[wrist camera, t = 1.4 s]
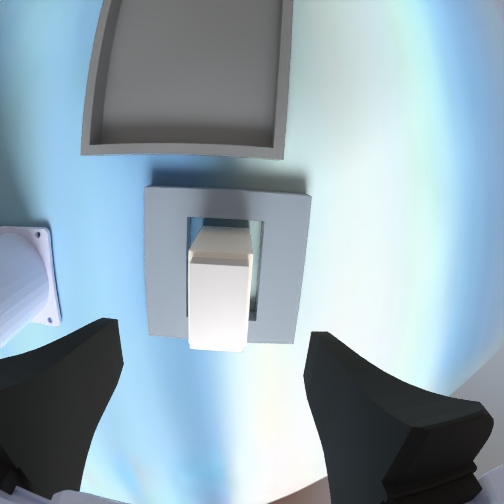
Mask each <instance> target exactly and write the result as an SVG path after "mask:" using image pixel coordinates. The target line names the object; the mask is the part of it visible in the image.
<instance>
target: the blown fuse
mask: <svg viewBox="0 0 504 504" xmlns="http://www.w3.org/2000/svg"><path fill="white" fill-rule="evenodd" d="M252 264H253V249H252V243H251V236H250V230H249V228H233V227H216V226H202V228H201V230H200V231H199V233H198V235H197V237H196V238H195V240H194V242H193V244H192V245H191V247H190V249H189V256H188V320H189V343H190V349H202V350H217V351H235V352H243V346H246V345H247V331H248V318H249V304H250V291H251V277H252Z"/></svg>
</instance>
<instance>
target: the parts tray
mask: <svg viewBox="0 0 504 504" xmlns="http://www.w3.org/2000/svg"><path fill="white" fill-rule="evenodd" d="M292 14H293V0H104V1H103V4H102V8H101V12H100V16H99V21H98V25H97V29H96V34H95V39H94V44H93V49H92V55H91V60H90V66H89V73H88V80H87V87H86V95H85V103H84V113H83V124H82V137H81V156H104V155H200V156H224V157H242V158H256V159H269V160H284V147H285V133H286V118H287V104H288V88H289V71H290V54H291V35H292Z"/></svg>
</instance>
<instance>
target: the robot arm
mask: <svg viewBox="0 0 504 504" xmlns="http://www.w3.org/2000/svg"><path fill="white" fill-rule="evenodd" d="M38 232H40V236H39V235H38ZM50 318H51V319H52V321H51V320H50ZM30 321H31V322H35V323H40V324H46V325H51V326H59V325H60V324H61V322H62V320H61V315H60V309H59V303H58V297H57V290H56V283H55V276H54V268H53V259H52V248H51V236H50V231H49V229H47V228H45V227H20V226H0V349H1V348H2V347H3V346H4V345H5V344H6V343H7V342H8V341H9V340H10V339H11V338H12V337H14V336H15V335H16V334H17V333H18V332H19V331H20V330H21V329H22V328H23V327H25V326H26V325H27V324H28V323H29V322H30ZM123 365H124V362H123V356H122V350H121V343H120V335H119V328H118V319H110V318H101V319H98V320H96V321H94V322H92V323H90V324H88V325H86V326H84V327H82V328H80V329H78V330H76V331H74V332H72V333H70V334H68V335H66V336H64V337H62V338H60V339H58V340H56V341H54V342H51V343H49V344H47V345H45V346H42V347H40V348H37V349H35V350H32V351H29V352H26V353H23V354H19V355H15V356H11V357H7V358H3V359H0V504H129V503H124V502H120V501H116V500H111V499H107V498H104V497H100V496H96V495H93V494H89V493H83V492H79V491H80V485H81V480H82V475H83V471H84V466H85V462H86V459H87V455H88V451H89V448H90V445H91V441H92V438H93V435H94V432H95V430H96V427H97V425H98V423H99V421H100V419H101V417H102V415H103V413H104V411H105V409H106V406H107V404H108V402H109V400H110V398H111V396H112V394H113V392H114V390H115V388H116V386H117V383H118V380H119V378H120V374H121V371H122V368H123ZM303 377H304V383H305V390H306V395H307V399H308V403H309V406H310V409H311V412H312V415H313V418H314V422H315V425H316V428H317V431H318V434H319V437H320V440H321V444H322V447H323V451H324V457H325V462H326V468H327V474H328V481H329V488H330V494H331V495H330V496H331V504H504V464H502V465H500V466H499V467H497V468H495V469H493V470H491V471H488V472H486V473H485V474H483V475H482V476H481V477H480V478H478V479H476V477H475V476H474V474H473V473H474V472H475V471H476V470H477V466H476V465H475V463H474V462H473V460H474V458H475V457H476V456H477V454H478V453H479V451H480V450H481V448H482V447H483V446H484V444H485V443H486V441H487V440H488V438H489V436H490V434H491V432H492V429H493V425H494V421H493V418H492V417H491V415H490V414H489V413H488V411H487V410H486V409H485V408H484V406H483V405H482V404H481V403H480V402H476V401H469V400H463V399H457V398H451V397H447V396H444V395H440V394H436V393H433V392H429V391H426V390H424V389H421V388H418V387H416V386H413V385H410V384H408V383H406V382H404V381H401V380H400V379H398V378H396V377H394V376H392V375H390V374H388V373H386V372H384V371H382V370H381V369H379V368H378V367H376V366H374V365H373V364H371V363H370V362H368V361H367V360H365V359H364V358H362V357H361V356H360V355H358V354H357V353H356V352H354V351H353V350H352V349H350V348H349V347H348V346H346V345H345V344H344V343H342V342H341V341H340V340H338V339H337V338H336V337H335V336H333V335H332V334H330V333H329V332H311V337H310V343H309V348H308V354H307V359H306V364H305V370H304V375H303Z"/></svg>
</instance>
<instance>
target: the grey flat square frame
mask: <svg viewBox="0 0 504 504" xmlns="http://www.w3.org/2000/svg"><path fill="white" fill-rule="evenodd" d="M311 198H312V196H310V195H308V194H300V193H288V192H276V191H262V190H248V189H231V188H212V187H188V186H154V185H151V186H147V187H144V259H145V286H146V304H147V319H148V331H149V335H151V336H161V337H171V338H183V339H189V320H188V256H189V249H190V223H191V217H200V218H219V219H237V220H253V221H262V232H261V245H260V258H259V270H258V283H257V295H256V307H255V311H249V318H248V331H247V343H277V344H293V343H294V337H295V330H296V323H297V316H298V309H299V302H300V295H301V287H302V279H303V271H304V263H305V255H306V246H307V237H308V228H309V219H310V209H311Z"/></svg>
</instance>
